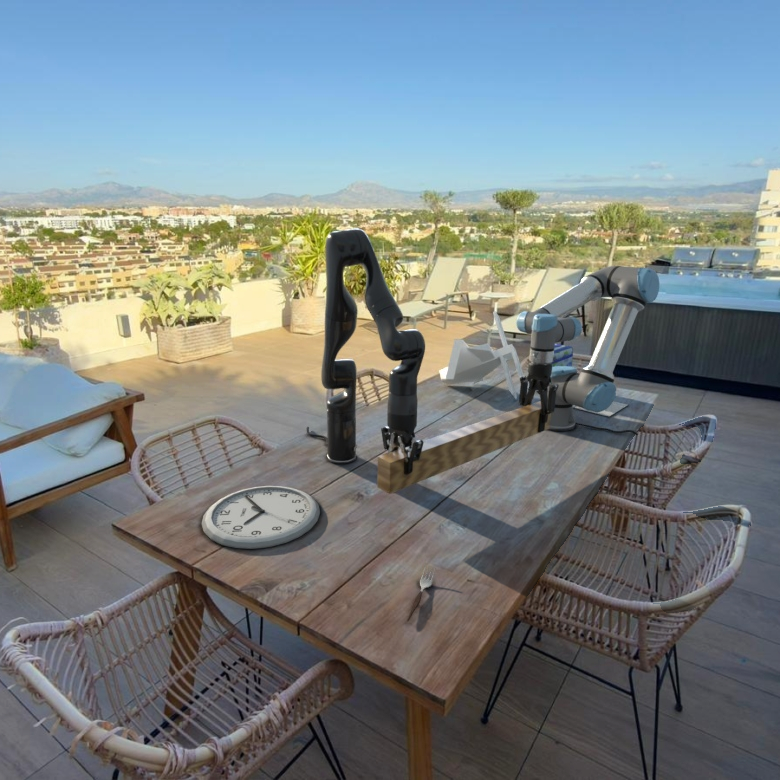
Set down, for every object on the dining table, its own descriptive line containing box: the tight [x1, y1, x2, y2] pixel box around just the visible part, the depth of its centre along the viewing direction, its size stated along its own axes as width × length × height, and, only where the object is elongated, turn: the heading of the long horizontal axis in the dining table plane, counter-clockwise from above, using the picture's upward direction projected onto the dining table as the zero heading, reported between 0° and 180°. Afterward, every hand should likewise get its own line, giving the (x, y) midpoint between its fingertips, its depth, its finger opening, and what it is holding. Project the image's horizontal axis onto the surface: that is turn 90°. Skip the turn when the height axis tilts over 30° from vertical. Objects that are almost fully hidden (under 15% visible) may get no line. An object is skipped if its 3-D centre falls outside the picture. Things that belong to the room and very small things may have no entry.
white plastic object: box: [438, 310, 529, 400], centre depth 245 cm, size 37×45×31 cm
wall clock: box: [201, 485, 321, 550], centre depth 137 cm, size 30×2×30 cm
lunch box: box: [528, 343, 574, 391], centre depth 248 cm, size 26×11×21 cm, turn 134°
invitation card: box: [573, 400, 629, 418], centre depth 226 cm, size 21×1×15 cm
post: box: [376, 400, 551, 495], centre depth 156 cm, size 73×5×9 cm, turn 131°
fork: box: [406, 565, 436, 622], centre depth 107 cm, size 3×16×2 cm, turn 160°
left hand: (400, 469), depth 137 cm, fingers closed on post, 5 cm apart
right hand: (533, 428), depth 177 cm, fingers closed on post, 5 cm apart
